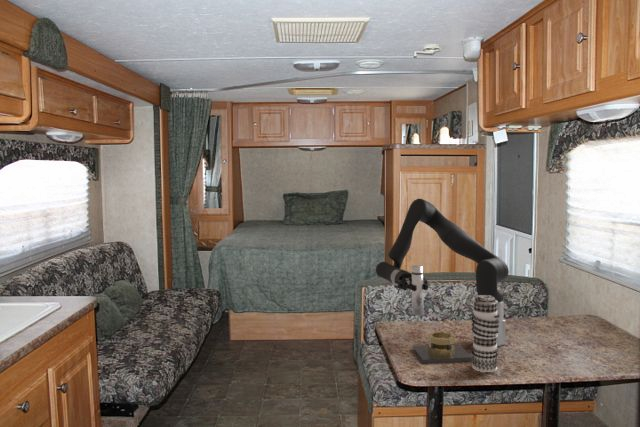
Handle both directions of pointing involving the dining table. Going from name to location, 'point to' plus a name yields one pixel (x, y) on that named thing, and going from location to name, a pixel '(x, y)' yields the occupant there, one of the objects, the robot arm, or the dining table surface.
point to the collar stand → (441, 349)
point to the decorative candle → (485, 333)
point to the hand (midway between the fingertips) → (420, 287)
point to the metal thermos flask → (417, 290)
